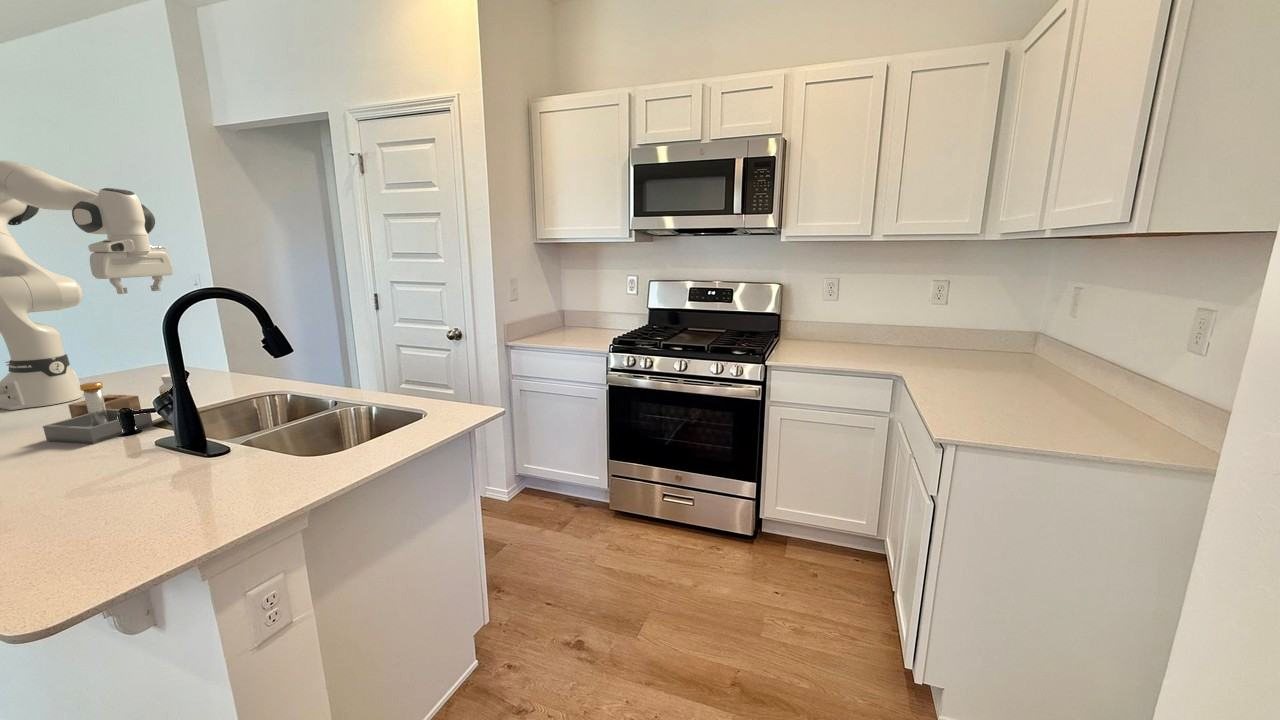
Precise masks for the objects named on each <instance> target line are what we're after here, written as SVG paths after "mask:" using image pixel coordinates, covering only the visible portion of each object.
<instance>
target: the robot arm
mask: <svg viewBox="0 0 1280 720" xmlns="http://www.w3.org/2000/svg"><path fill="white" fill-rule="evenodd" d="M40 209H42V210H49V211H50V210H54V211H71V217H72V221H73V222H74V223H75V225H76V226H77V228H78V229H80V230H81V231H83V232H85V233H87V234H92V235H93V234H94V235H106V238H107V239H104V240H101V241H97V242H94V243H93V242H92V243H90V244H88V250H89V252H90V253H91V254H90V255H89V267H90V270H91V271H90V272H91V274H92V276H93V277H94V278H96V279H98V280H109V283H110V284H111V285H112V286H113V287H114V288H115V289H116V293H117V294H118V295H125V294H128V287H123V285H122V284H121V283H122V279H126V278H127V279H128V278H129V279H130V278H146V277H148V278H149V277H151V279H152V280H154V281H153V284H151V285H150V290H151V292H161V290H162V289H161V284H162V282H163V280H164V278H163V276H164V277H165V276H166V277H167V276H172V275H174V272H175V269H174V266H173V262H172V260H171V258H170V255H169V251H168V249H166V248H165V247H163V246H162V245H151V243H150V238H149V237H150V236H149V234H151V232H152V231H153V229H154V228H155V226H156V219H155V216H154V214H153V213H152V212H151V210H150V209H149V208H147V207H146V206H145V205H144V204H142V203H141V201H140V199H139V197H138V195H137V194H136V193H135V192H134V191H131V190H128V189H119V188H114V187H113V188H111V187H105V188H100V189H99V191H98V192H97V191H93V190H90V189H87V188H84V187H82V186H80V185H77V184H74V183H72V182H69V181H66V180H63V179H61V178H59V177H57V176H55V175H52V174H50V173H47V172H45V171H42V170H41V169H39V168H35V167H33V166H31V165H27V164H25V163H20V162H17V161H12V160H0V334H1V336H2V338H3V340H4V342H5V345H6V347H7V351H8V353H9V358H10V360H9V361H5V364H6V365H5V366H8V372H9V373H7V374H6V375H5V376H4V377H3V378H2V379H1V380H0V409H2V410H3V409H4V410H8V411H13V410H14V411H15V410H21V409H28V408H37V407H46V406H51V405H57V404H62V403H67V402H72V401H75V400H78V399H81V398H83V397H84V392H83V391H81V389H80V385H81V384H80V381H79V378H78V376H77V373H76V371H75V370H74V369H72V368H71V367H70V365H71V363H70V357H68V354H66V353H65V350H64V349H65V348H64V346H63V341H62V336H61V334H60V332H59V331H58V330H57V329H56V328H55V327H52V326H50V325H47V324H43V323H39V322H35V321H32V320H31V319H30V318H29V316H28V313H38V312H39V313H41V312H51V311H52V312H53V311H61V310H64V309H69V308H72V307H76V306H78V305H80V303H81V302H82V300H83V296H84V295H83V294H84V292H83V289H82V286H81V285H80V284H79V283H78V282H77V281H76V280H75V279H74V278H72V277H70V276H66V275H63V274H59V273H56V272H54V271H51V270H49V269H47V268H45V267H43V266H41V265H40V264H38V263H37V262H35V261H34V260H33V259H31V258H30V257H29V256H28V255H27V253H25V252H24V250H23V249H22V248H21V246H20V245H19V244H18V242H17V241H16V239H15V238H14V236H13V235H12V234H11V232H10V231H9V229H8V225H9V226H19V225H21V224H22V223H23V222H26V221H28V220H30V219H32V218H33V217H35V216H36V215H37V214H38V213H39V210H40ZM7 363H8V364H7Z"/></svg>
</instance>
